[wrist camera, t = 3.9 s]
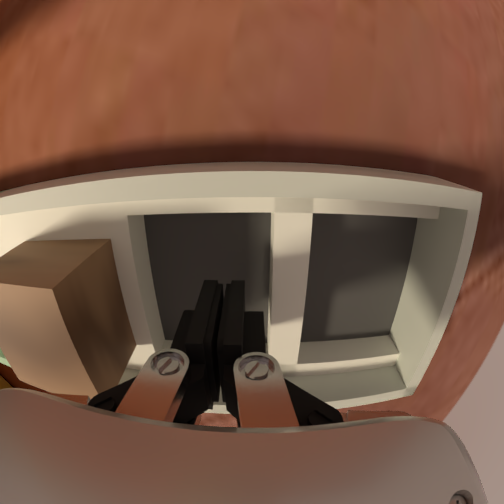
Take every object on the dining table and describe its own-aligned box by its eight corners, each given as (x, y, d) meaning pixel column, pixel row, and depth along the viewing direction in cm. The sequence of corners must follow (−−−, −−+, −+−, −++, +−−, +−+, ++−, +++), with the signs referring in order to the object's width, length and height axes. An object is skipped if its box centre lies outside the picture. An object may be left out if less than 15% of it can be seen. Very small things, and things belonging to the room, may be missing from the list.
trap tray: (390, 352, 16) (412, 394, 12) (2, 326, 16) (-21, 352, 13) (432, 176, 12) (482, 192, 8) (-36, 202, 12) (-70, 218, 8)
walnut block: (136, 345, 13) (107, 409, 9) (55, 332, 13) (19, 380, 9) (110, 238, 11) (52, 289, 7) (24, 241, 11) (-30, 278, 7)
